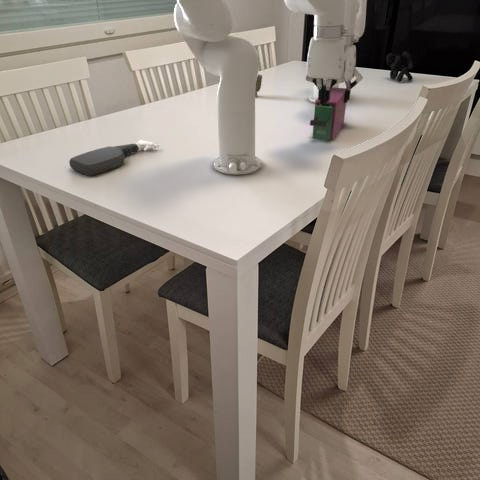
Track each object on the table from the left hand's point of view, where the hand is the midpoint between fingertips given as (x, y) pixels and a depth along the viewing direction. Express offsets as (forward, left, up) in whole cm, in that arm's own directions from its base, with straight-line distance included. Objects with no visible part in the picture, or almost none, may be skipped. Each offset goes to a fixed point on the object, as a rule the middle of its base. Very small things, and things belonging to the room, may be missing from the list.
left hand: (323, 103), depth 126 cm
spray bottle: (-8, +59, -12) cm, 60 cm away
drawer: (+7, -3, -11) cm, 14 cm away
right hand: (+18, -7, -4) cm, 20 cm away
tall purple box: (+13, -5, -12) cm, 18 cm away
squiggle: (+79, -50, -12) cm, 95 cm away
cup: (+57, +17, -12) cm, 61 cm away
